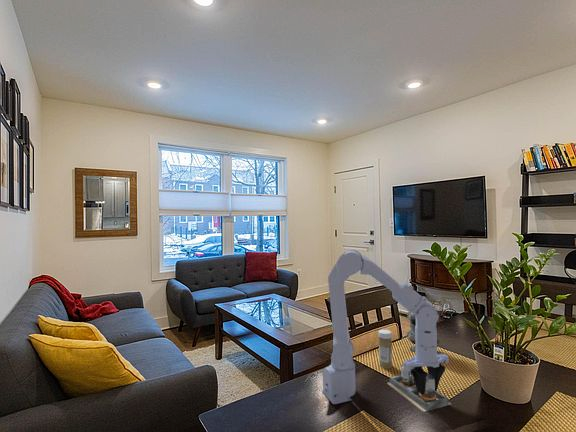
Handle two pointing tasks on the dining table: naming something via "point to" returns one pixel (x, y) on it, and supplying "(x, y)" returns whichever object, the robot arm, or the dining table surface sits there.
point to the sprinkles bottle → (385, 349)
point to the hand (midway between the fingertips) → (426, 390)
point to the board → (417, 395)
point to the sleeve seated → (407, 378)
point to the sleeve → (429, 389)
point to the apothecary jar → (412, 330)
